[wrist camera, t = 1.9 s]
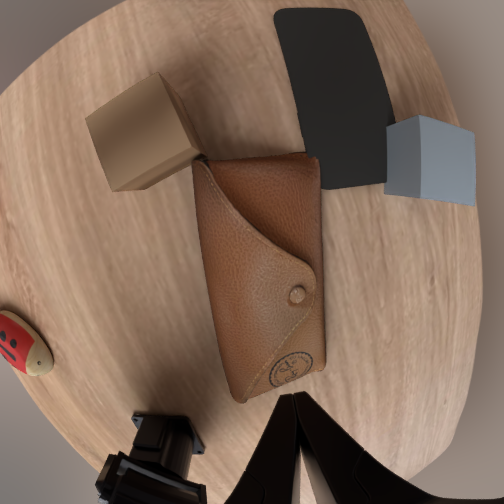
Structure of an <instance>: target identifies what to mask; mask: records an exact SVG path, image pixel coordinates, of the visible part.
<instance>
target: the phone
mask: <svg viewBox="0 0 504 504" xmlns="http://www.w3.org/2000/svg"><path fill="white" fill-rule="evenodd" d="M274 24H275V28H276V31H277V34H278V38H279V41H280V45H281V48H282V52H283V55H284V59H285V63H286V67H287V70H288V74H289V78H290V82H291V86H292V90H293V94H294V99H295V103H296V107H297V112H298V113H297V115H298V119H299V124H300V129H301V133H302V137H303V140H304V145H305V150H306V153H307V155H308V158H311V157H316V159H318V160H319V166H320V180H321V189H326V190H332V189H340V188H347V187H355V186H363V185H371V184H379V183H387V128H386V127H388V126H390V125H393V124H395V123H396V122H395V117H394V113H393V109H392V105H391V102H390V98H389V94H388V91H387V87H386V84H385V81H384V77H383V74H382V71H381V68H380V65H379V62H378V59H377V56H376V54H375V51H374V48H373V46H372V43H371V40H370V38H369V35H368V33H367V30H366V28H365V26H364V23H363V21H362V19H361V18H360V17H359V15H357V14H356V13H355V12H353V11H350V10H347V9H336V8H285V9H281V10H278V11H277V12H276V13H275V14H274Z"/></svg>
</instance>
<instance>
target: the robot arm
mask: <svg viewBox="0 0 504 504" xmlns="http://www.w3.org/2000/svg"><path fill="white" fill-rule="evenodd" d="M131 419H132V421H133V423H134V424H135V426H136V427H137V429H138V431H137V434H136V436H135V439H134V441H133V447H132V449H131V452H130V454H129V456H127V455H125V454H124V453H123V452H121V451H119V452H118V455H116V454H115V455H113V454H109V456H108V458H107V460H106V462H105V464H104V466H103V469H102V471H101V473H100V475H99V477H98V479H97V481H96V484H95V486H96V488H97V490H98V492H99V493H98V495H99V496H100V497H99V500H98V502H99V503H100V504H207V495H206V485H203V484H197V483H194V482H191V481H188V480H187V477H188V472H189V467H190V462H191V457H192V454H204V451H205V450H204V448H203V446H202V444H201V442H200V440H199V438H198V436H197V434H196V432H195V430H194V428H193V426H192V424H191V422H190V419H189V418H187V417H185V416H152V415H136V414H134V415H133V416H132V418H131ZM300 448H301V451H300ZM301 453H302V457H303V460H304V463H305V467H306V470H307V473H308V476H309V479H310V483H311V486H312V489H313V492H314V495H315V499H316V502H317V504H504V497H502V498H497V499H452V498H442V497H437V496H434V495H431V494H428V493H427V492H425V491H423V490H421V489H419V488H418V487H416V486H414V485H412V484H411V483H409V482H408V481H406V480H404V479H403V478H401V477H399V476H398V475H396V474H395V473H393V472H392V471H390V470H389V469H387V468H386V467H385V466H383V465H382V464H381V463H380V462H378V461H377V460H376V459H375V458H374V457H373V456H371V455H370V454H369V453H368V452H367V451H366V450H364V448H363V447H362V446H361V445H359V444H358V443H357V442H356V441H355V440H354V439H353V438H352V437H351V436H350V435H349V434H348V433H347V432H346V431H345V430H344V429H343V428H342V427H341V426H340V425H339V424H338V423H337V422H336V421H335V420H334V419H333V418H332V417H331V416H330V415H329V414H328V413H327V412H326V411H325V410H324V409H323V408H322V407H321V406H320V405H319V404H318V403H317V402H316V401H315V400H314V399H313V398H312V397H311V396H310V395H309V394H308V393H307V392H305V391H302V392H297V393H294V394H284V395H280V397H279V399H278V401H277V403H276V406H275V408H274V410H273V412H272V415H271V417H270V419H269V421H268V423H267V426H266V428H265V430H264V432H263V434H262V436H261V439H260V441H259V443H258V445H257V447H256V449H255V451H254V453H253V455H252V457H251V459H250V461H249V463H248V465H247V467H246V469H245V470H246V471H244V472H243V474H242V476H241V478H240V480H239V482H238V483H237V485H236V487H235V489H234V490H233V492H232V493H231V495H230V496H229V497H228V499H227V500H226V502H225V503H224V504H300V474H301Z"/></svg>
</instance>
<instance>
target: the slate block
mask: <svg viewBox="0 0 504 504" xmlns="http://www.w3.org/2000/svg"><path fill="white" fill-rule="evenodd" d="M386 128H387V183H384V194H387V195H397V196H406V197H414V198H422V199H430V200H437V201H444V202H451V203H457V204H463V205H469V206H475V190H476V157H475V138H474V133H473V132H471V131H468V130H466V129H462V128H460V127H457V126H454V125H451V124H449V123H445V122H442V121H439V120H436V119H433V118H429V117H426V116H423V115H416V116H414V117H411V118H408V119H406V120H403V121H400V122H398V123H395V124H393V125H390V126H388V127H386Z"/></svg>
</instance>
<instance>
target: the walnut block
mask: <svg viewBox="0 0 504 504" xmlns="http://www.w3.org/2000/svg"><path fill="white" fill-rule="evenodd" d="M85 120H86V123H87V126H88V129H89V132H90V135H91V138H92V141H93V143H94V146H95V149H96V152H97V155H98V157H99V160H100V163H101V165H102V168H103V170H104V173H105V176H106V178H107V181H108V183H109V185H110V188H111V190H112V192H119V191H132V190H145V189H147V188H149V187H150V186H152V185H154V184H156V183H158V182H159V181H161V180H163V179H165V178H167V177H169V176H170V175H172V174H174V173H176V172H178V171H180V170H182V169H184V168H186V167H188V166H190V165H191V162H192V161H193V160H202V159H204V158H206V157H207V155H206V153H205V151H204V148H203V146H202V144H201V142H200V140H199V138H198V135H197V133H196V131H195V129H194V127H193V125H192V122H191V120H190V118H189V116H188V114H187V112H186V109H185V107H184V105H183V103H182V101H181V99H180V97H179V95H178V94H177V93H176V92H175V91H174V90H173V89H172V87H171V86H170V85H169V84H168V83H167V82H166V80H165V79H164V78H163V77H162V76H161V75H160V74H159V73H158V72H157V73H155V74H153V75H151V76H149V77H148V78H146V79H144V80H142V81H141V82H139V83H137V84H136V85H134V86H132V87H131V88H129V89H127V90H126V91H124V92H123V93H121V94H120V95H118V96H117V97H115V98H114V99H112V100H111V101H109V102H108V103H106V104H105V105H103V106H102V107H100V108H99V109H98V110H96V111H95V112H93V113H92V114H91V115H89V116H88V117H87V118H85Z"/></svg>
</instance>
